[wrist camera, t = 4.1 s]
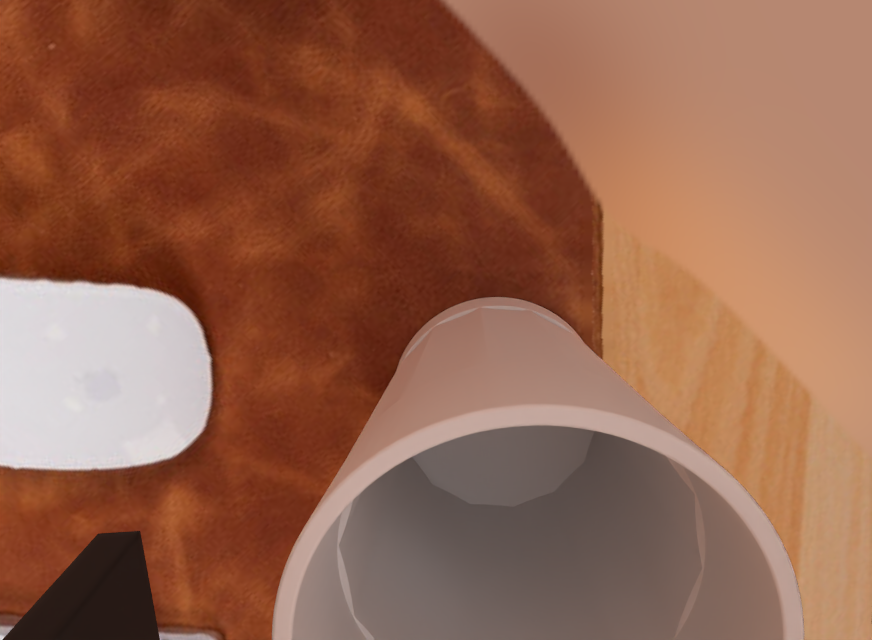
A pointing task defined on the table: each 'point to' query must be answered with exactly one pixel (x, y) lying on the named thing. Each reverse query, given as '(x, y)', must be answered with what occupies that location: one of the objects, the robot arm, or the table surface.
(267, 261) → the table surface
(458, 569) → the cup
